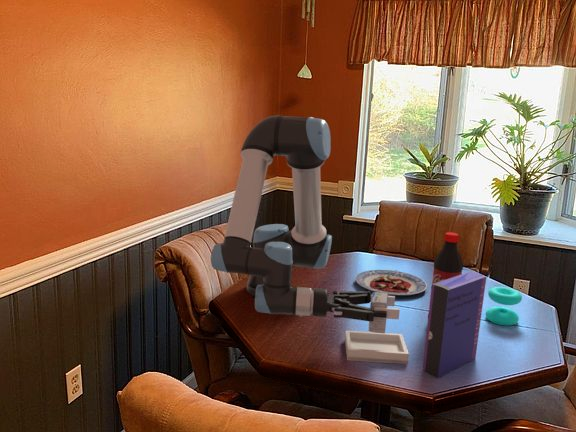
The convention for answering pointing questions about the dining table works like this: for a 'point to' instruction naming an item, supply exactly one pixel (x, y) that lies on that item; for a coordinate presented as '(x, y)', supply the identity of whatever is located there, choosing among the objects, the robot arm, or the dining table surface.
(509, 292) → the donuts
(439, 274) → the cola bottle
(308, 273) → the dining table surface
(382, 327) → the medicine box
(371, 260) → the dining table surface
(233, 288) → the dining table surface
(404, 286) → the ceramic plate
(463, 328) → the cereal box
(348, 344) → the tray
